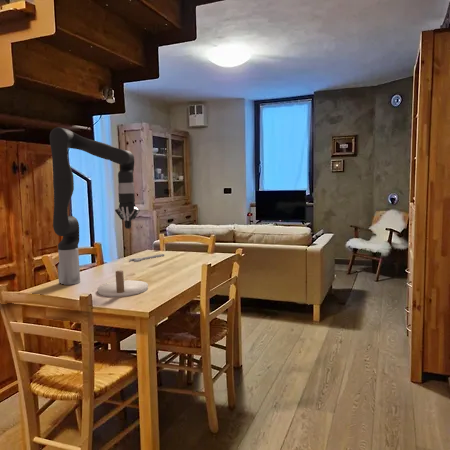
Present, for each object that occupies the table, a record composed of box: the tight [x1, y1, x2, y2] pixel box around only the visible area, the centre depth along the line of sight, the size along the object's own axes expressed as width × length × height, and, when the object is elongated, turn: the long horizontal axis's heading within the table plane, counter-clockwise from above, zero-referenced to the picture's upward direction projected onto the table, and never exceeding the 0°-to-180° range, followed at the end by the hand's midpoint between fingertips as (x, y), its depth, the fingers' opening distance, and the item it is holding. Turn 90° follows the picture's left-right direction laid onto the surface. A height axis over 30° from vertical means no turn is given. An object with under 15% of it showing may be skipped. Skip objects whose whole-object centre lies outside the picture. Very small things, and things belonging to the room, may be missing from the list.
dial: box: [97, 270, 149, 298], centre depth 185 cm, size 22×22×10 cm
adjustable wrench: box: [129, 253, 165, 263], centre depth 262 cm, size 25×6×2 cm, turn 130°
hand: (128, 228), depth 198 cm, fingers closed
